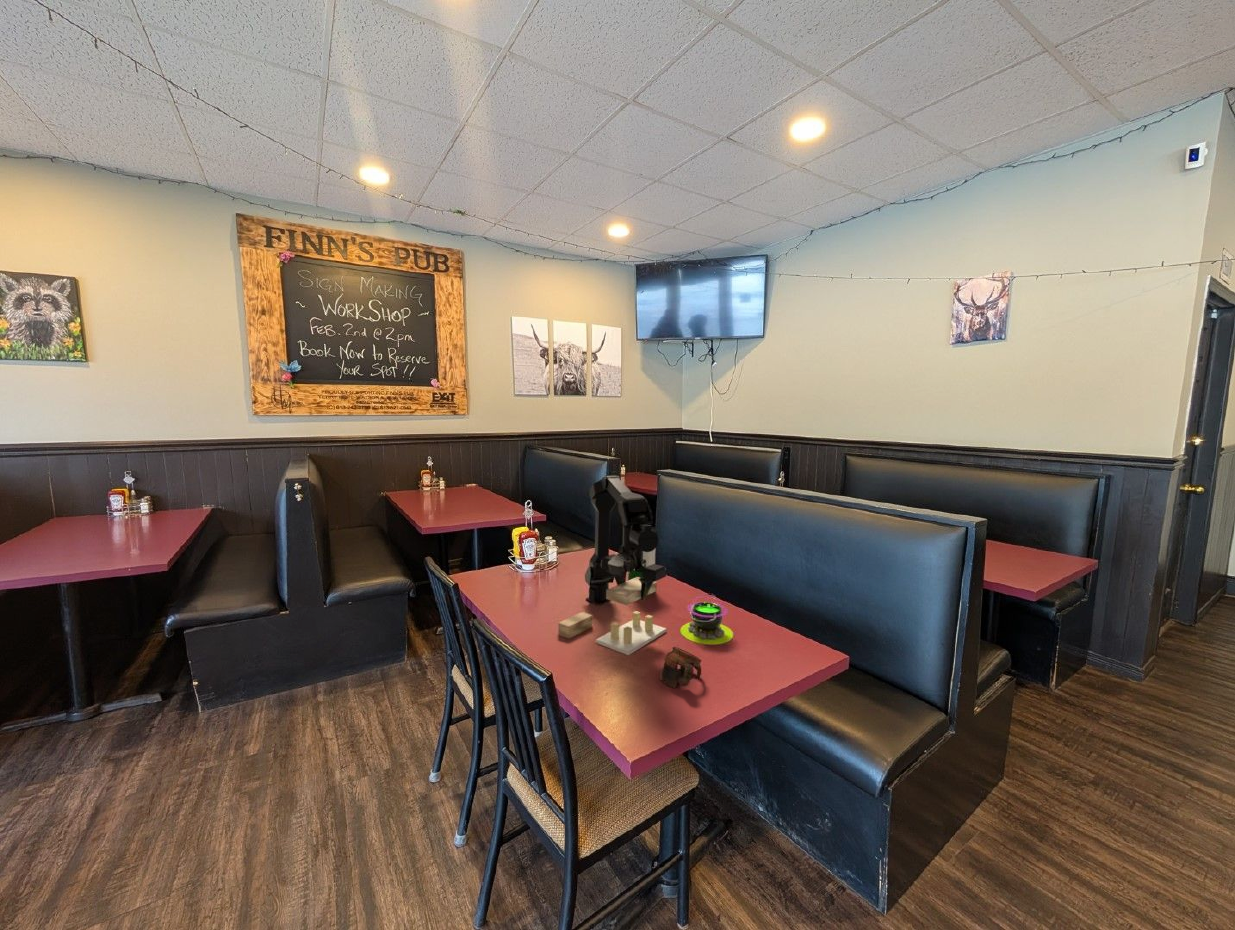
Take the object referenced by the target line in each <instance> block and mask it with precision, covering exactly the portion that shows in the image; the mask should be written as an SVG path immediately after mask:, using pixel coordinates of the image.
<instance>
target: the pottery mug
mask: <svg viewBox="0 0 1235 930" xmlns="http://www.w3.org/2000/svg"><path fill="white" fill-rule="evenodd" d="M702 661H703V660H702V659H701V658H699V657H698V656H696V655H695V654H693V653H690V652H689V651H685V650H684V649H681V648H679V647H676V646H673V647H672V650H671V651H669V652H668V653H667V654H666V655H665V658H664V663H663V667H662V668H661V669H660V676H659V680H660V681H661V682H663V683H664V684H666V685H668V686H669V687H672V688H674V689H676V688H677V684H678V683H679V684H678V685H680V686H681V687H685V686H689V684H690V681H692V678H693V676H694V673H695V672H694V671H695V670H696V677H697V678H701V676H702V665H701V662H702ZM678 665H679V668H678ZM694 669H695V670H694Z"/></svg>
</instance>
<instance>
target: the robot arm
mask: <svg viewBox="0 0 1235 930" xmlns="http://www.w3.org/2000/svg"><path fill="white" fill-rule="evenodd" d="M589 498H590V503H591V504H592V506H593V508H594V510H595V525H594V553H593V554H592V556H591V557H590V559H589V561H588V562H589V563H588V567H587V569H586V572H585V573H584V582H585V583H586V584H587V585H588V586H589V588H588V597H586V598H585V600H586V601H588V602H591V603H593V604H597V605H599V606H600V605H602V604H605V603H607V602H609V601H610V600H608V599H606V590H608V589H610V588H609V587H610V586H609V585H610V584H612V583H614V580H615V584H616V586H617V585H619V584H622V583H624V582H626V581H627V572H632V571H637V572H641V573H642V576H643V577H642V578H640V579H639V581H640V582H641V601H645V600H646V599H647V596H648V595H647V594H648V592H649V590H650V588H651V586H652V584H653V582H654V581H655V582H658V581H659V580H661V579H664V578H665V577H667V568H666V567H665V566H663V565H660V564H656V563H655V564H652V565H650V566H647V567H646V566H643V564H645V563H646V560H645V559H643V551H644V552H651V551H653V550H654V549H655V548H657V547H658V545H659V537H658V534H657V533H656V532H655V531H654V530H652V528H653V527H652V525H653V524H654V520H653V518H654V516H653V512H652V510H651V507H650V504H649V501H648V500H647V498H646V497H645V496H643V495H642V494H639V493H636V492H632V491H631V490H630V489H629V487H628V486H626V484H625V483H624V482H622V480H621V477H620V476H619V475H605V476H603V477H602V478H601V479H600V480H598V481H596V482H594V483H593V484H592V485H591V487H590V489H589ZM616 504H618V506H617V507H618V509H617V510H618V512H619V515H620V517H621V523H622V545H620V546H619V548H618V549H619V550H618V553H617V554H614V553H612V554H610V532H611V512H612V510H613V509H614V507H615V505H616Z"/></svg>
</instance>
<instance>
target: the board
mask: <svg viewBox="0 0 1235 930" xmlns="http://www.w3.org/2000/svg"><path fill="white" fill-rule="evenodd" d="M639 579H640V577H635V578H633V579H631V580H629V581H628V580H626V581H625V582H624V583H622V584H619V585H617V584H616V585H615V586H612V587H611V588H609V589H608V590H606V599H608V600H609V601H611V602H615V603H618V604H621V605H625V606H629V605H631V604H632V603H635V602H637V601H639V600H640V599H641V582H640V581H639ZM657 587H658V581H654V582H653V584H652V586H651V588H650V590H649V592H648V594H647V596H649V595H651V594H653V593H655V592H657V591H658V588H657Z"/></svg>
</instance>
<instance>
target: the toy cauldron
mask: <svg viewBox="0 0 1235 930" xmlns="http://www.w3.org/2000/svg"><path fill="white" fill-rule="evenodd" d="M705 594H707V595H708V594H709V593H703V594H700V598H704V599H705V598H706V597H707V596H704V595H705ZM698 598H699V596H697V597H696V599H698ZM696 599H693V603H690V604H689V605H687V606H686V609H687V610H688V612H689V613H690V617H691V619H692V621H690V622H687V623H685V624H684V625H682V626H681V627H680V631H679V632H680V634H681V636H682V637H684V638H685V639H686V640H689V641H691V642H693V643H697V644H701V645H702V644H703V645H709V646H710V645H712V646H713V645H721V644H725V643H728V642H730V641H732V639H733V638H734V632H733V630H732V629H731V628H729V627H728V626H726V625H724V624H722V623H723V617H724V616H725V615H727V614H728V611H729V610H728V608H727V607H726V606H724V605H722V603H716V602H710V601H700V602H696ZM706 599H709V597H707V598H706ZM711 599H713V600H714V601H716V598H715V595H714V594H712V597H711ZM718 600H719V601H720V602H722V600H720V599H718ZM722 610H723V612H722Z"/></svg>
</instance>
